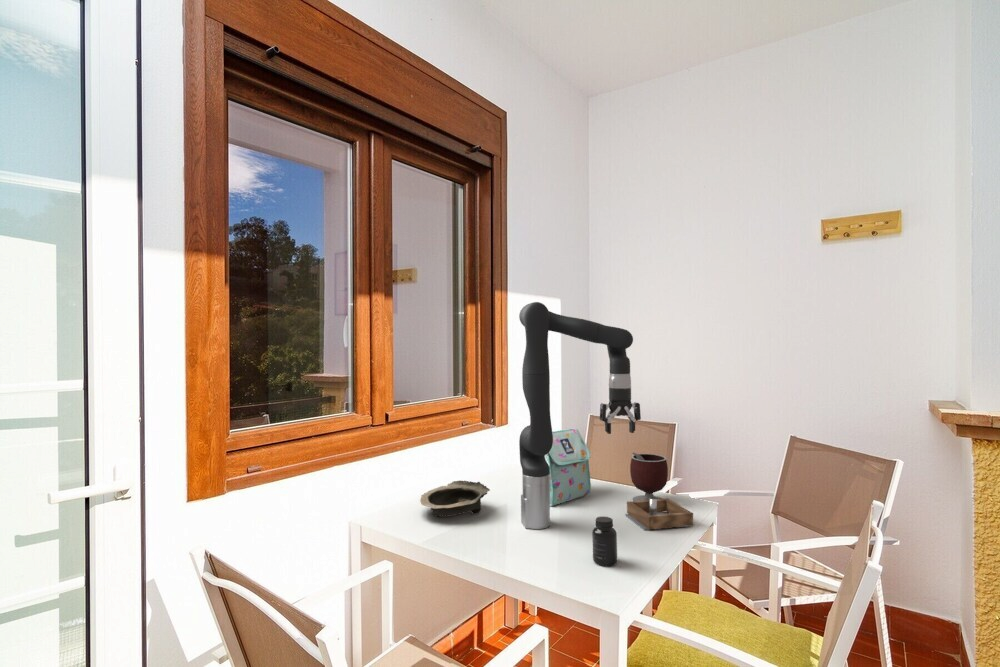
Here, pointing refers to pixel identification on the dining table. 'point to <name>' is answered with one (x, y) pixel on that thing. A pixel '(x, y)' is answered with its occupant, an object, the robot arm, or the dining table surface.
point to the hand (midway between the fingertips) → (620, 433)
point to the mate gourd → (648, 474)
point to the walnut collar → (674, 519)
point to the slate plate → (639, 522)
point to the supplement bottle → (604, 542)
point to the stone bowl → (455, 498)
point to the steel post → (652, 506)
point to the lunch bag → (568, 466)
